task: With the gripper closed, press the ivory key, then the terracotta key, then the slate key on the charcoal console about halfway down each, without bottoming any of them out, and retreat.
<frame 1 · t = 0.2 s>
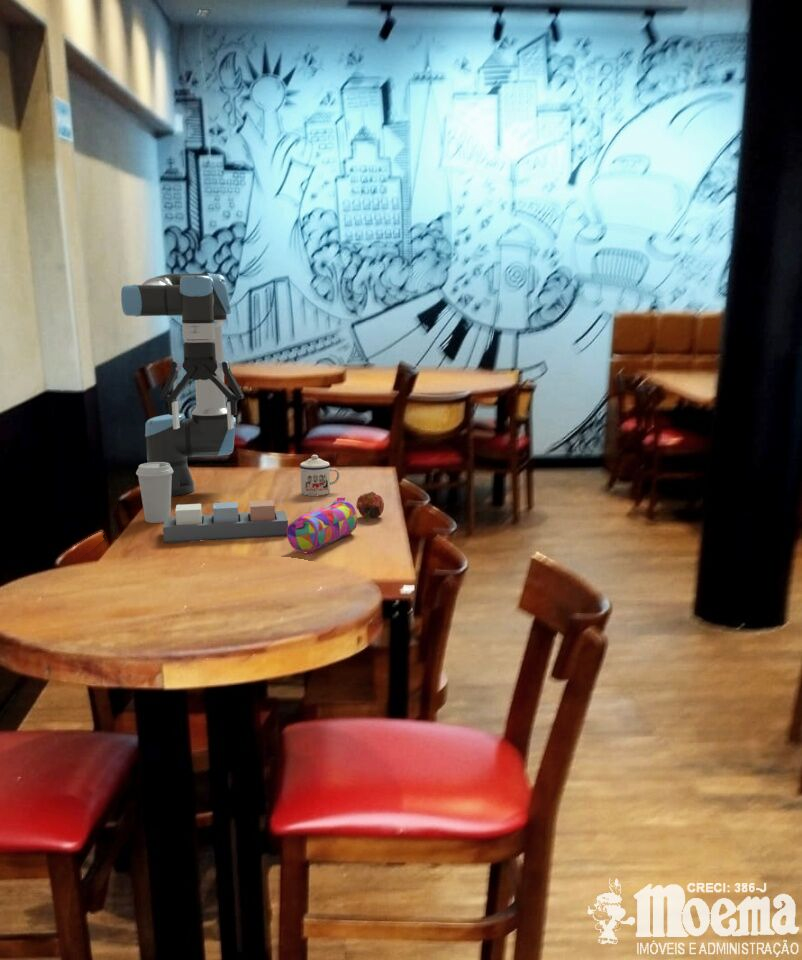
hand: (203, 428, 211), 27 cm above the table, tool pointing down, fingers open, 13 cm apart
pomegranate: (370, 518, 231), on the table
console: (226, 534, 216), on the table
teacup with lid: (320, 493, 260), on the table
pencil case: (323, 543, 209), on the table
coffee cup: (158, 520, 230), on the table
slate key: (225, 513, 215), point 5 cm above the table, slide at 0.0 cm
terracotta key: (262, 512, 217), point 5 cm above the table, slide at 0.0 cm
ivory key: (188, 515, 213), point 5 cm above the table, slide at 0.0 cm
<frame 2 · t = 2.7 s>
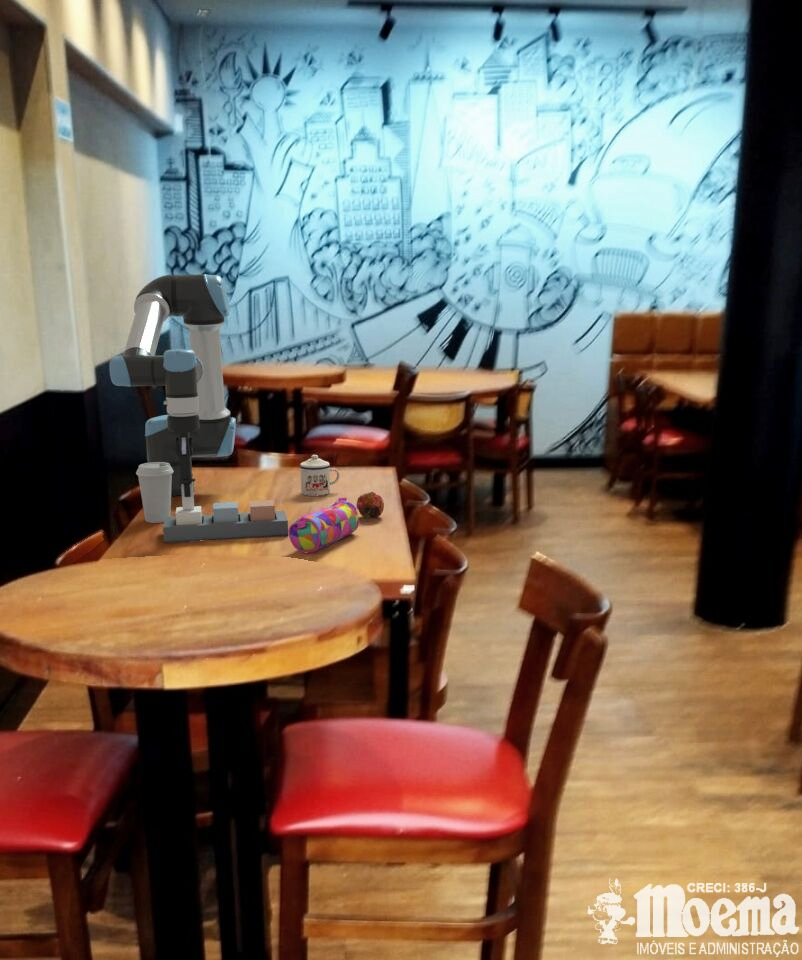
hand: (188, 508, 213), 7 cm above the table, tool pointing down, fingers closed
ivory key: (189, 518, 213), point 5 cm above the table, slide at 0.6 cm, touching gripper
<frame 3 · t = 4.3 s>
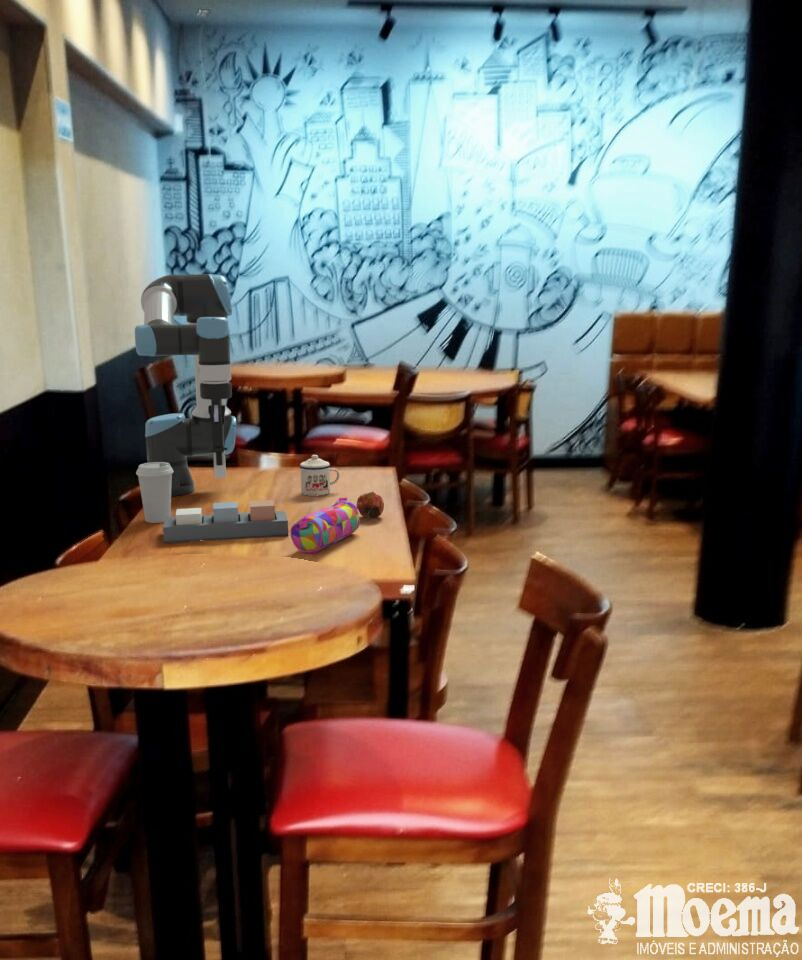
hand: (220, 477, 212), 15 cm above the table, tool pointing down, fingers closed
ivory key: (189, 520, 213), point 4 cm above the table, slide at 1.1 cm
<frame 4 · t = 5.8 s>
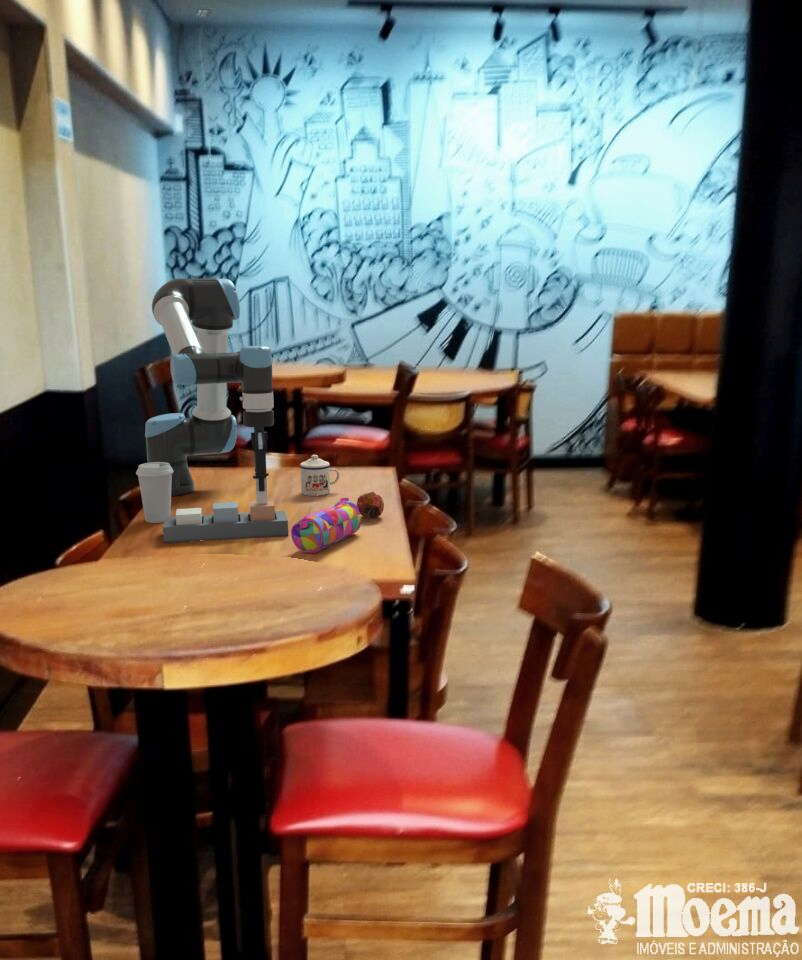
hand: (262, 502, 216), 8 cm above the table, tool pointing down, fingers closed
terracotta key: (262, 512, 217), point 5 cm above the table, slide at 0.1 cm, touching gripper
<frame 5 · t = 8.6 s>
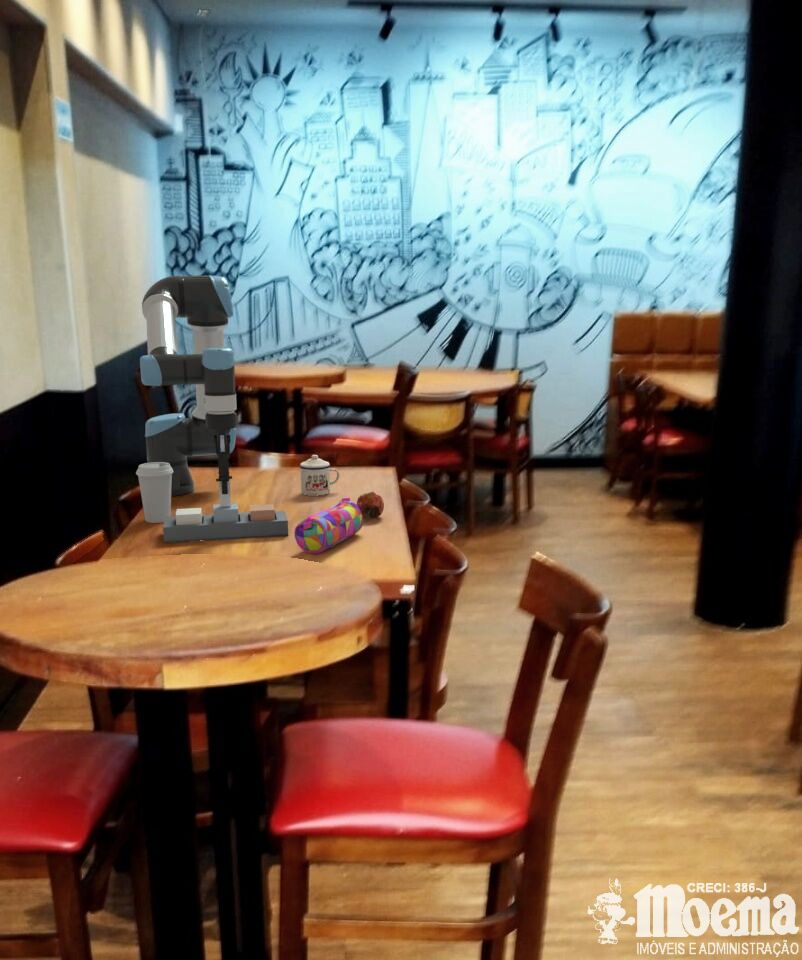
hand: (225, 505, 214), 7 cm above the table, tool pointing down, fingers closed
slate key: (225, 515, 215), point 5 cm above the table, slide at 0.4 cm, touching gripper
terracotta key: (262, 516, 217), point 4 cm above the table, slide at 1.1 cm
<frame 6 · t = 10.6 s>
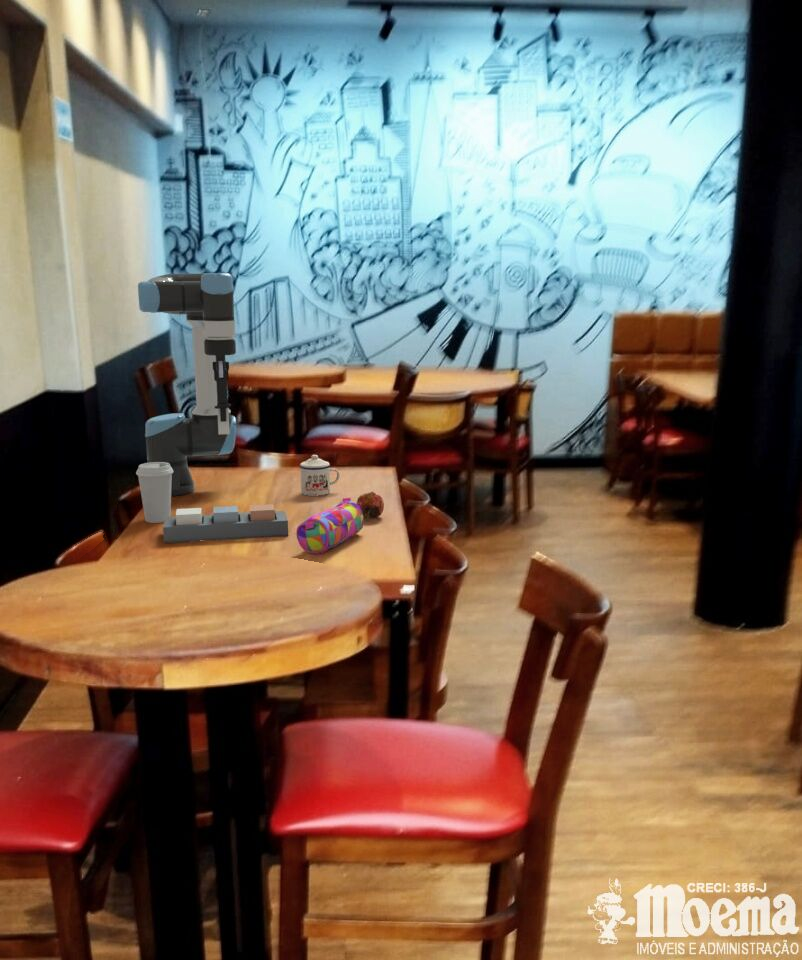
hand: (224, 433, 214), 25 cm above the table, tool pointing down, fingers closed
slate key: (226, 518, 215), point 4 cm above the table, slide at 1.1 cm
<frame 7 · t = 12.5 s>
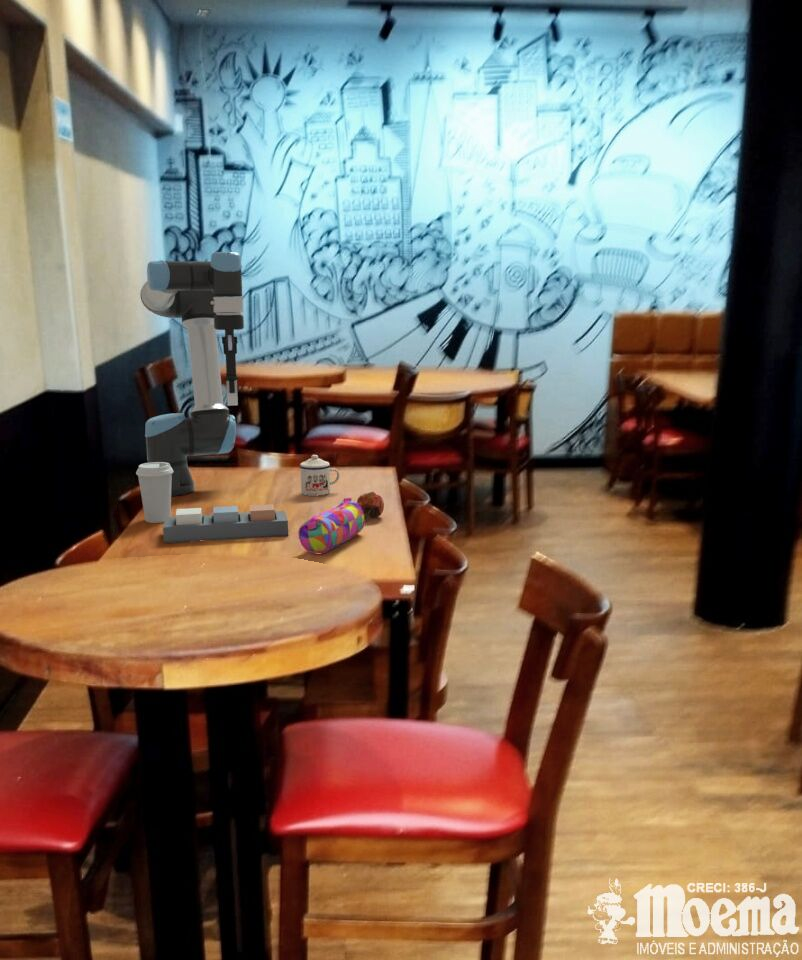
hand: (232, 405, 226), 30 cm above the table, tool pointing down, fingers closed
at the end: ivory key slide at 1.1 cm; terracotta key slide at 1.1 cm; slate key slide at 1.1 cm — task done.
